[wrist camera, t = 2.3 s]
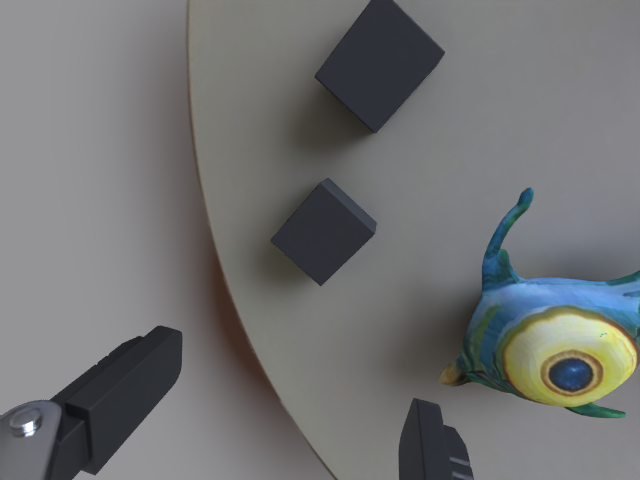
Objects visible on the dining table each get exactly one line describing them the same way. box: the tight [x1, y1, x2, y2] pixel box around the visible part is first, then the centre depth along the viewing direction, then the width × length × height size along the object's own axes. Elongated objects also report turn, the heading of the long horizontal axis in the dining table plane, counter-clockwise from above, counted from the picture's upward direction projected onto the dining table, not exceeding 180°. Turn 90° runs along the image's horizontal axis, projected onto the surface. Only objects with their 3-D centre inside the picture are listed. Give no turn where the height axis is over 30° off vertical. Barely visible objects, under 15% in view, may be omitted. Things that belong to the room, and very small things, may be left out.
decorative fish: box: [438, 188, 640, 418], centre depth 18 cm, size 13×12×6 cm
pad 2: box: [315, 0, 445, 133], centre depth 18 cm, size 4×5×3 cm
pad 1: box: [270, 178, 376, 286], centre depth 21 cm, size 4×5×3 cm
